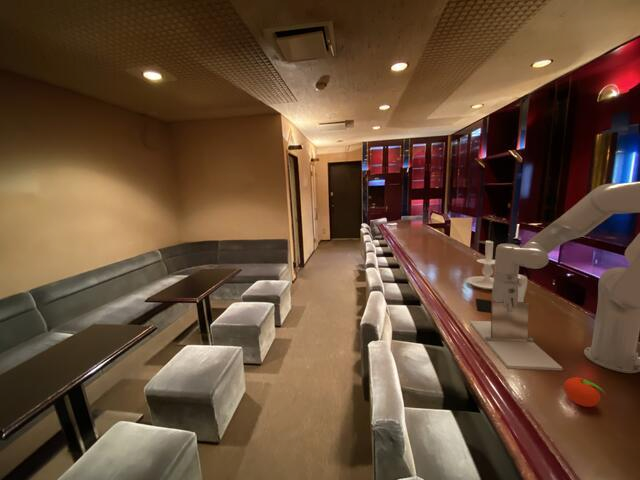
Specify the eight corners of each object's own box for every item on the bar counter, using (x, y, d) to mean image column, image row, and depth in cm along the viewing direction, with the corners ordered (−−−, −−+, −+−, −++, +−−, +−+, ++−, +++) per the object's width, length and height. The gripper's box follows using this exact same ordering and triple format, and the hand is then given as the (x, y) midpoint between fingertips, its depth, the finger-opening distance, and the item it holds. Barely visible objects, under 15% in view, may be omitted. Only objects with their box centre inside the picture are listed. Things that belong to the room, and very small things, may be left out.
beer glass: (528, 308, 125) (531, 278, 122) (511, 308, 126) (514, 278, 124) (520, 302, 132) (522, 274, 129) (504, 302, 133) (507, 273, 130)
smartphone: (491, 300, 135) (494, 312, 122) (491, 301, 135) (494, 314, 122) (475, 298, 138) (477, 310, 125) (475, 299, 138) (477, 311, 125)
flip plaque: (525, 338, 98) (527, 339, 97) (490, 337, 100) (492, 338, 99) (526, 302, 97) (528, 303, 96) (491, 301, 99) (493, 302, 98)
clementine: (602, 403, 71) (606, 379, 69) (605, 420, 65) (610, 395, 64) (562, 389, 76) (565, 367, 75) (562, 404, 71) (565, 381, 70)
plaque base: (562, 370, 83) (563, 364, 83) (507, 368, 86) (507, 362, 85) (509, 323, 112) (509, 318, 112) (469, 323, 115) (469, 318, 114)
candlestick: (522, 295, 140) (527, 244, 134) (470, 292, 148) (473, 243, 143) (509, 282, 159) (512, 237, 154) (463, 280, 167) (465, 237, 162)
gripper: (528, 283, 91) (523, 331, 95) (505, 270, 106) (501, 312, 109) (505, 283, 93) (500, 330, 96) (485, 270, 107) (482, 311, 111)
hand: (501, 320), depth 103 cm, fingers closed
